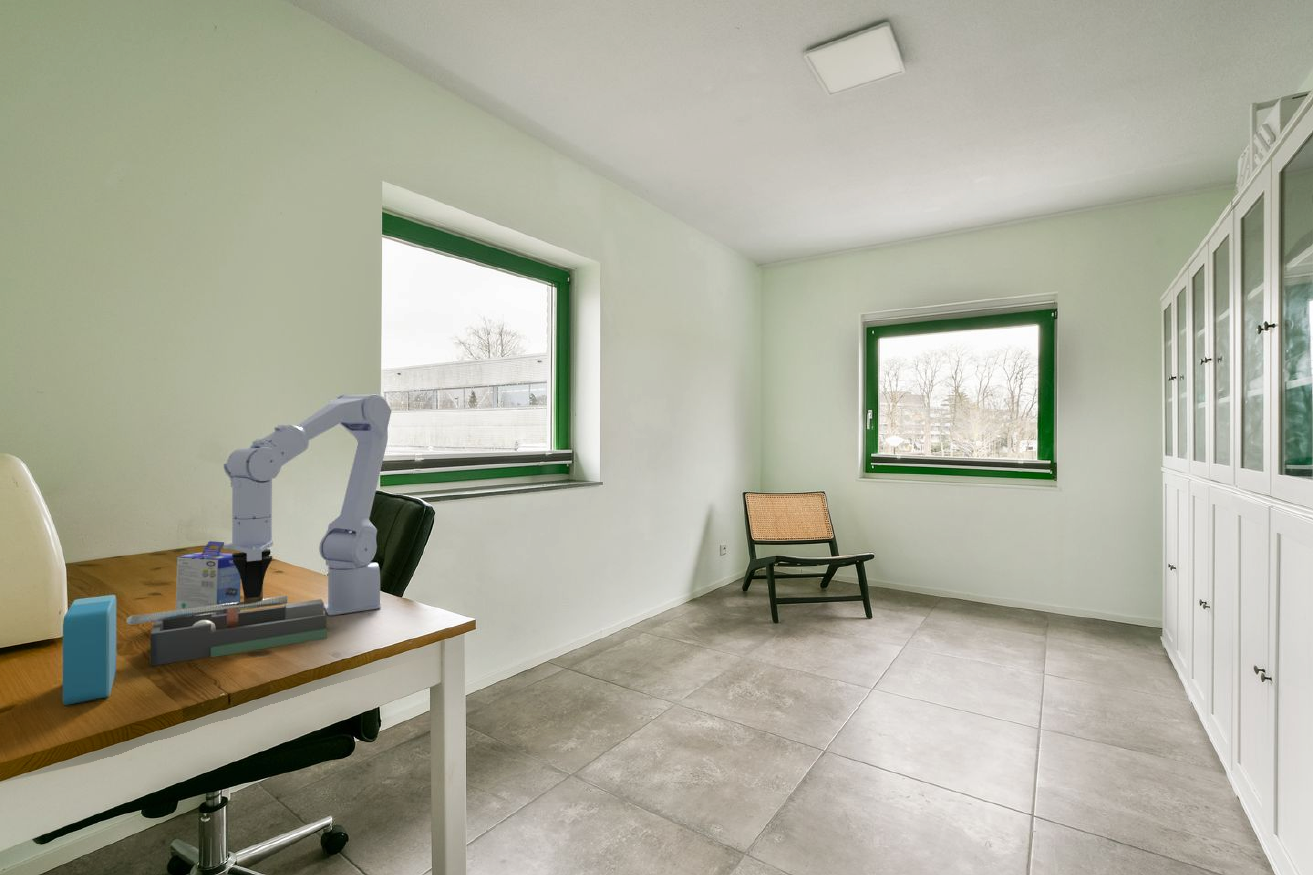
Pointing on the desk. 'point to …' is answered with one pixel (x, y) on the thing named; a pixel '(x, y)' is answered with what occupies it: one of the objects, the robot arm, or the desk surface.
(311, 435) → the robot arm
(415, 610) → the desk surface
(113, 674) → the blue flat block
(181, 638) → the pitch
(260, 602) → the kicker
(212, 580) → the ink cartridge box
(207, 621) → the ball
